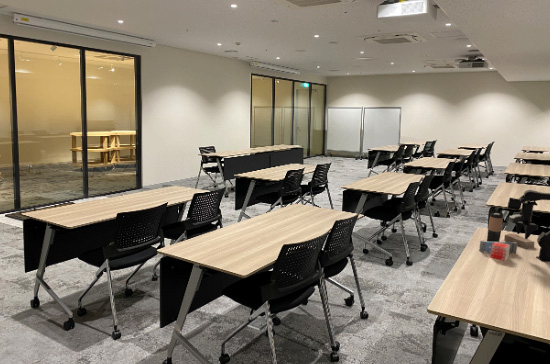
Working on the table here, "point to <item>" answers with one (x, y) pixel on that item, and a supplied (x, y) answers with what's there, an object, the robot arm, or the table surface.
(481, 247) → the door frame
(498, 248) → the red white patterned box
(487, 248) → the door
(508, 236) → the brick
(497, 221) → the travel mug
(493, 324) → the table surface
